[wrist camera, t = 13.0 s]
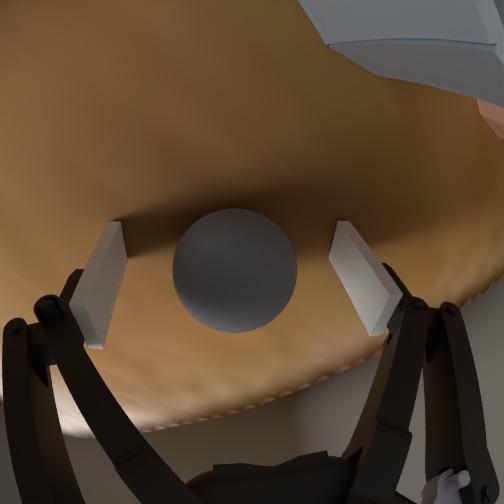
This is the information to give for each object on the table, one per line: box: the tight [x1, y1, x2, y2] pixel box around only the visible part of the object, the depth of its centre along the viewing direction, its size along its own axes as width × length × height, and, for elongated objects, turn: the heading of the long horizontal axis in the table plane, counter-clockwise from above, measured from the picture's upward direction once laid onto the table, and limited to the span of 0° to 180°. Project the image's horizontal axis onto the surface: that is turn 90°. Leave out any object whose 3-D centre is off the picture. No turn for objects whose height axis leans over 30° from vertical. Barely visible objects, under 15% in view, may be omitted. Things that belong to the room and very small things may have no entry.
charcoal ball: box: [173, 208, 297, 333], centre depth 15 cm, size 6×6×6 cm
